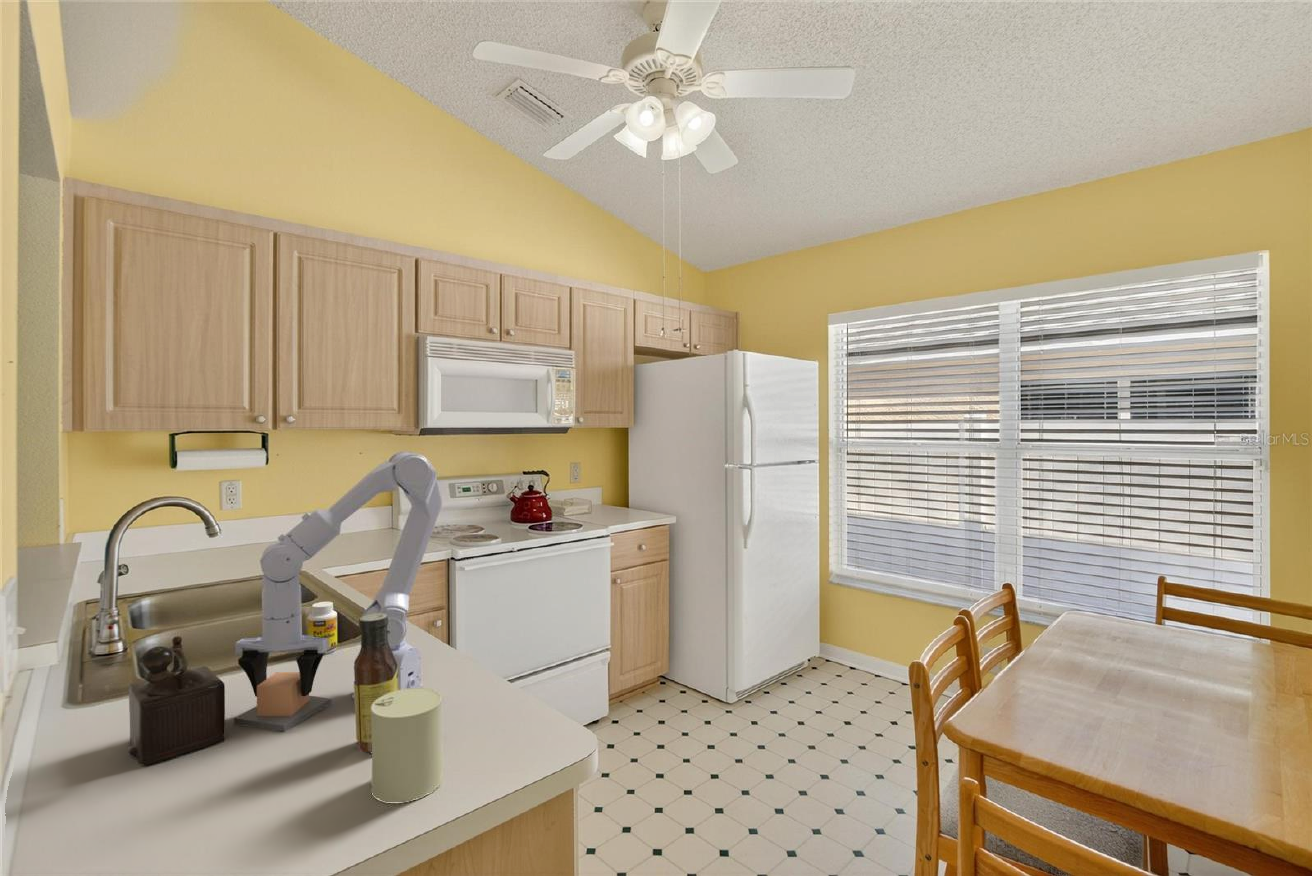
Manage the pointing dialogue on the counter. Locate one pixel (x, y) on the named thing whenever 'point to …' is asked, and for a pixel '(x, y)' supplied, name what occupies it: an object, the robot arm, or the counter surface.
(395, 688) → the sauce bottle
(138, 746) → the dark brown boxy piece
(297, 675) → the orange cube
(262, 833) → the counter surface
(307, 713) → the shaft base
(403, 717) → the can
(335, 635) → the supplement bottle
